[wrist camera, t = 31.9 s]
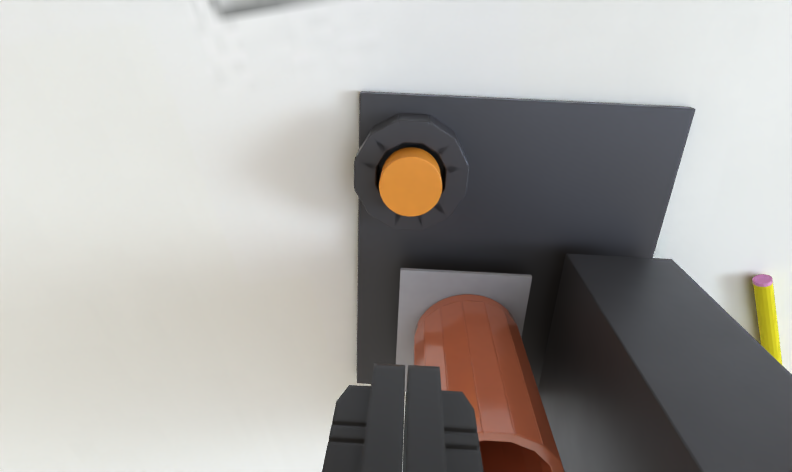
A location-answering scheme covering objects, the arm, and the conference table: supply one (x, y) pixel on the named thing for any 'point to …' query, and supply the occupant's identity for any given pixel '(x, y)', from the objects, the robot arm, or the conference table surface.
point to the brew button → (410, 182)
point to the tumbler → (489, 380)
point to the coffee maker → (636, 367)
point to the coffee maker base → (508, 197)
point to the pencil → (767, 315)
